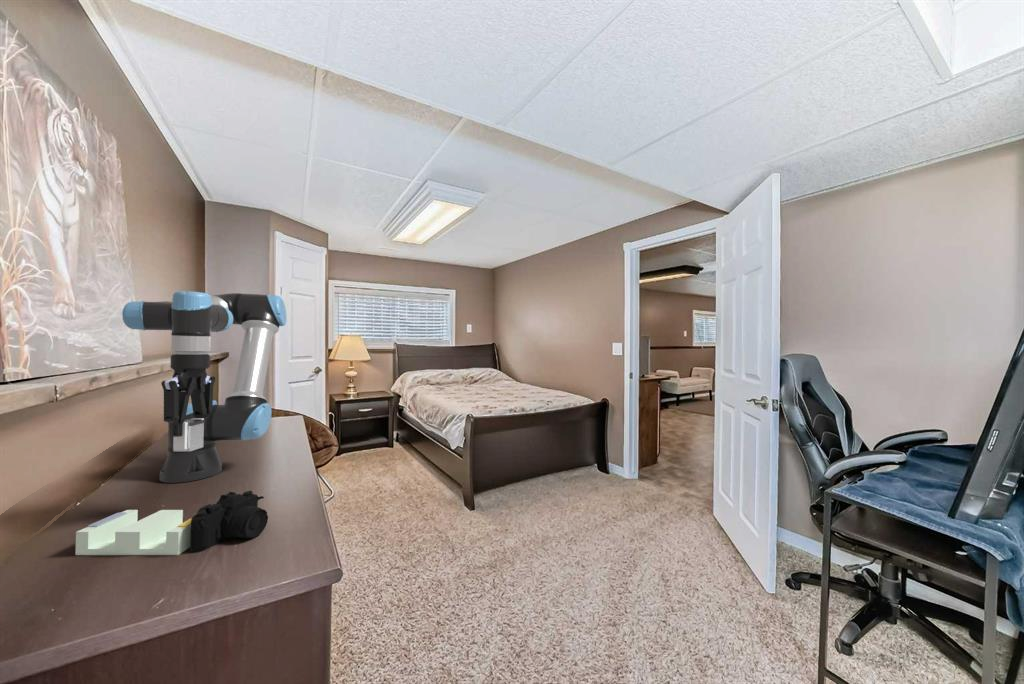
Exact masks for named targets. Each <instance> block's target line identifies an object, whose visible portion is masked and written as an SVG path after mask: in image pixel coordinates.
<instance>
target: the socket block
mask: <svg viewBox="0 0 1024 684" xmlns="http://www.w3.org/2000/svg"><path fill="white" fill-rule="evenodd" d="M138 512H139V510H138V509H126V510H124V511H121V512H116V513H113V514H112V515H109V516H107V517H104V518H103V519H100V520H97V521H95V522H93V523H91V524H88V525H87V527H84V528H82V529H80V530H79V529H78V530H77V531H76V532H75V556H179V555H181V554H182V553H183V552H185V551H187V550H188V549H190V538H191V519H192V517H190V518H189V519H187V520H186V521H184V522H183V517H184V510H183V509H160V510H157V512H156V511H155V512H154V513H152V514H149V515H148V516H146V517H143V518H141V519H140V520H138V514H139V513H138Z"/></svg>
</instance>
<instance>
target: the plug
mask: <svg viewBox="0 0 1024 684" xmlns="http://www.w3.org/2000/svg"><path fill="white" fill-rule="evenodd" d="M184 422H188V435H187V449H185V450H173V451H193V450H196V449H199V448H202V447H203V438H204V423H205V420H190V419H188V420H185V421H184Z"/></svg>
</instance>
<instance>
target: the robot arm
mask: <svg viewBox="0 0 1024 684" xmlns="http://www.w3.org/2000/svg"><path fill="white" fill-rule="evenodd" d="M121 314H122V320H123V323H124V325H125V326H126V327H128V329H131V330H142V331H171V342H170V343H171V344H170V345H171V347H170V349H171V350H170V351H171V352H172V353H173V354H171V355H170V369H171V370H174V372H173V375H172V377H171V378H170V379H169V380H162V381H161V383H160V384H161V386H162V389H163V421H164V422H165V423H168V427H167V428H168V429H167V433H168V434H167V436H168V437H167V439H168V440H167V441H168V442H167V455H166V458H165V460H164V462H163V465H162V468H161V469H160V472H159V482H161V483H166V484H175V483H176V484H177V483H185V482H186V483H187V482H192V481H198V480H202V479H206V478H210V477H212V476H213V477H214V476H215V475H218V474H220V473H221V472H222V467H223V463H222V461H221V459H220V456H219V453H218V451H217V448H216V442H225V441H229V442H230V441H249V440H256V439H259V438H261V437H263V436H264V435H265V434H266V432H267V431H268V429H269V426H270V425H271V424H270V423H271V420H272V412H273V410H272V406H271V405H270V404H269V403H268V399H267V398H266V397H265V396H264V389H265V383H266V378H267V372H268V367H269V360H270V355H271V350H272V349H271V348H272V343H273V338H274V337H273V336H274V335H276V334H278V332H279V330H280V327H284V326H286V324H287V310H286V306H285V302H284V300H283V298H282V297H281V296H279V295H275V294H268V293H266V294H256V293H255V294H254V293H236V292H233V293H231V292H230V293H222V294H213V295H210V294H209V293H206V292H200V291H189V290H184V291H183V290H180V291H179V290H178V291H175V292H174V293H173V295H172V300H167V301H166V300H165V301H144V300H141V301H130V302H127V303H126V304H124V306H123V309H122V313H121ZM232 325H239V326H241V328H242V329H243V331H244V334H243V335H244V336H243V340H242V345H241V350H240V354H239V360H238V365H237V370H236V375H235V378H234V379H235V380H234V385H233V389H232V390H233V391H232V393H231V394H230V395H228V396H227V397H225V399H224V404H218V402H217V400H216V399H215V400H214V385H215V382H216V377H215V376H209V375H208V373H207V371H206V370H207V369H209V368H210V367H211V355H210V354H208V353H210V352H211V345H212V344H211V343H212V342H211V339H212V338H211V335H212V334H211V332H212V333H218V332H224V331H226V330H229V328H231V327H232ZM190 400H191V402H190ZM189 402H190V403H189ZM188 419H190V420H205V423H204V438H203V447H202V448H199V449H196V450H193V451H173V450H185V449H187V435H188V422H184V421H185V420H188Z"/></svg>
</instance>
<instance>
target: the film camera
mask: <svg viewBox="0 0 1024 684" xmlns="http://www.w3.org/2000/svg"><path fill="white" fill-rule="evenodd" d="M264 498H265V497H264V496H262V495H261V496H258V494H255V493H253V491H252V490H248V491H243V493H242V494H241V493H237V494H236V492H235V491H229V492H228V493H226V494H221V495H220V498H219V499H218V500H217V502H216V503H212V504H211V503H209V504H205V505H204V506H202V507H200V508H199V509H198V510H197V512H196V514H195V515H193V516H192V517H191V518H192V519H191V518H190V519H191V538H190V548H189V550H190V552H191V553H201V552H204V551H206V550H208V549H210V548H212V547H213V546H216V545H218V544H219V543H221V542H223V541H226V540H228V539H236V538H237V539H239V538H240V539H241V538H242V539H251V538H257V537H258V536H259V535H261V534H262V533H263V531H264V530H265V528H266V526H267V525H268V520H269V516H268V511H267V510H266V509H263V508H261V507H258V505H259V504H258V503H259V502H258V501H260V500H261V499H264Z"/></svg>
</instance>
